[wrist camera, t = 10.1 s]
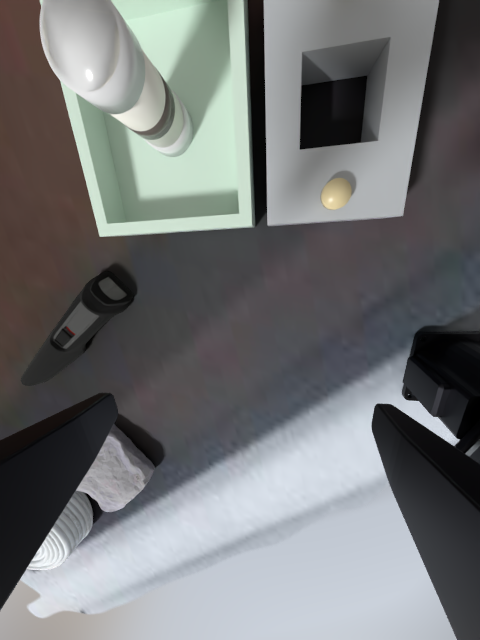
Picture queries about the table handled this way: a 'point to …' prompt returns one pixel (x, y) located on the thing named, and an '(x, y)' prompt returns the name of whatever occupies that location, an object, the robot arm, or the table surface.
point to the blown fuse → (113, 71)
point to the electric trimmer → (78, 326)
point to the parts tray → (208, 122)
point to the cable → (65, 533)
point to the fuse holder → (379, 110)
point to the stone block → (117, 472)
